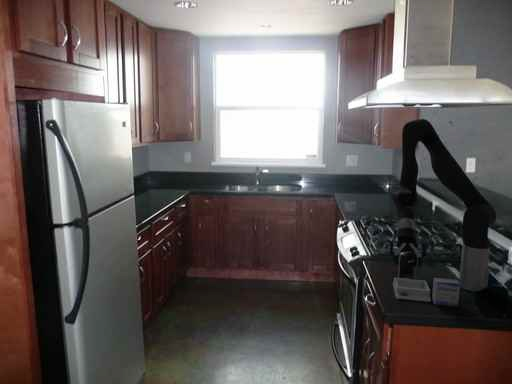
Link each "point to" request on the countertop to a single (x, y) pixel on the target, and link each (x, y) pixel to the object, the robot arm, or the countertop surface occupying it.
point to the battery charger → (406, 265)
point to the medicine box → (445, 292)
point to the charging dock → (411, 289)
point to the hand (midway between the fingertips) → (407, 266)
